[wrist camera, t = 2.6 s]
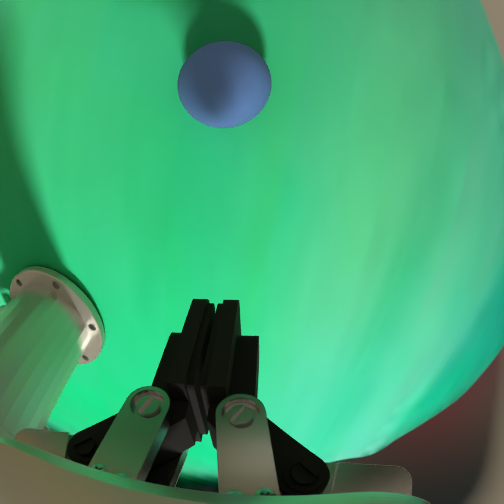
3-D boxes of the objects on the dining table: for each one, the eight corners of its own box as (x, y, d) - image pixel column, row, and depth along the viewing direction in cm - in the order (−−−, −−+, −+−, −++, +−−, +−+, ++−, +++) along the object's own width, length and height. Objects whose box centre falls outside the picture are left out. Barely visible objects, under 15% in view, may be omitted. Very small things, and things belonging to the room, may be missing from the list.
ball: (190, 127, 20) (168, 134, 15) (188, 52, 18) (165, 37, 13) (270, 124, 20) (273, 130, 15) (269, 48, 18) (272, 29, 13)
